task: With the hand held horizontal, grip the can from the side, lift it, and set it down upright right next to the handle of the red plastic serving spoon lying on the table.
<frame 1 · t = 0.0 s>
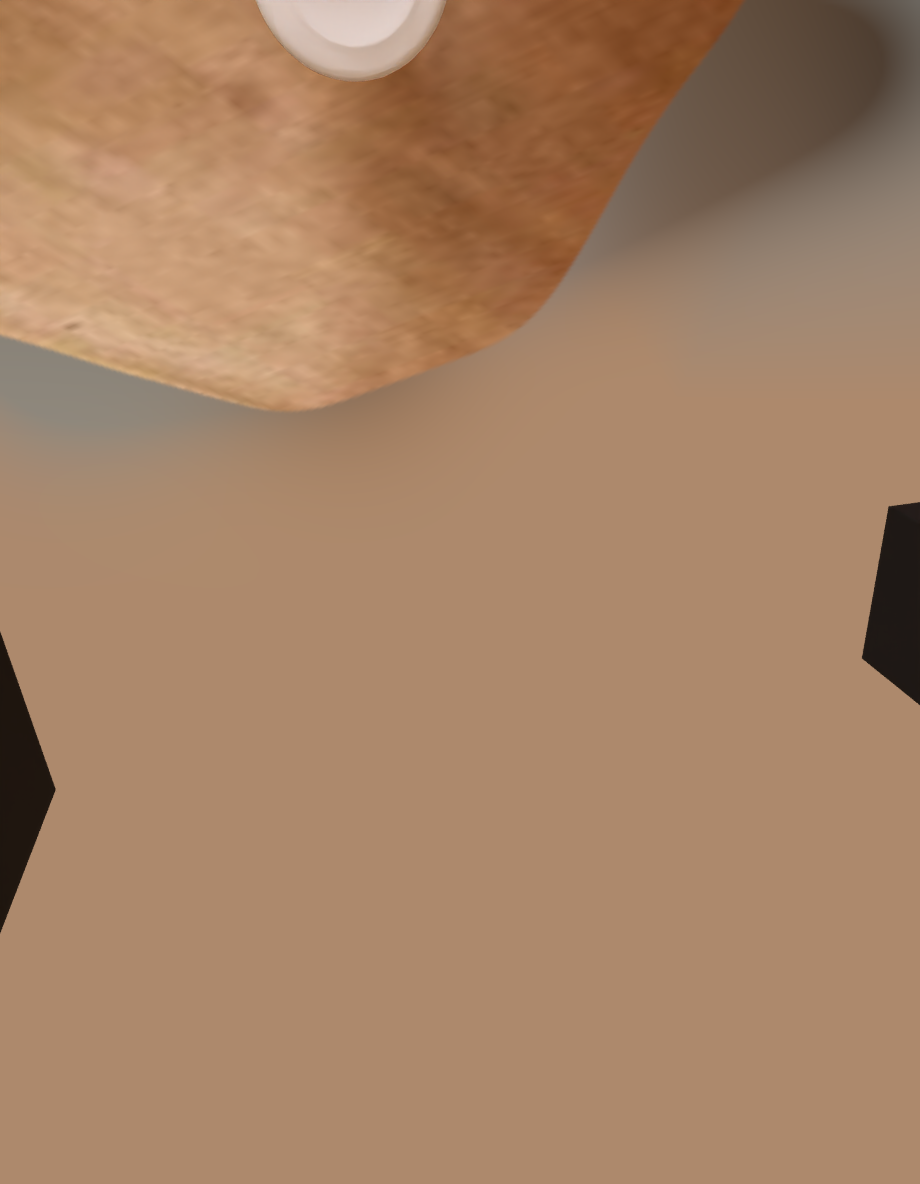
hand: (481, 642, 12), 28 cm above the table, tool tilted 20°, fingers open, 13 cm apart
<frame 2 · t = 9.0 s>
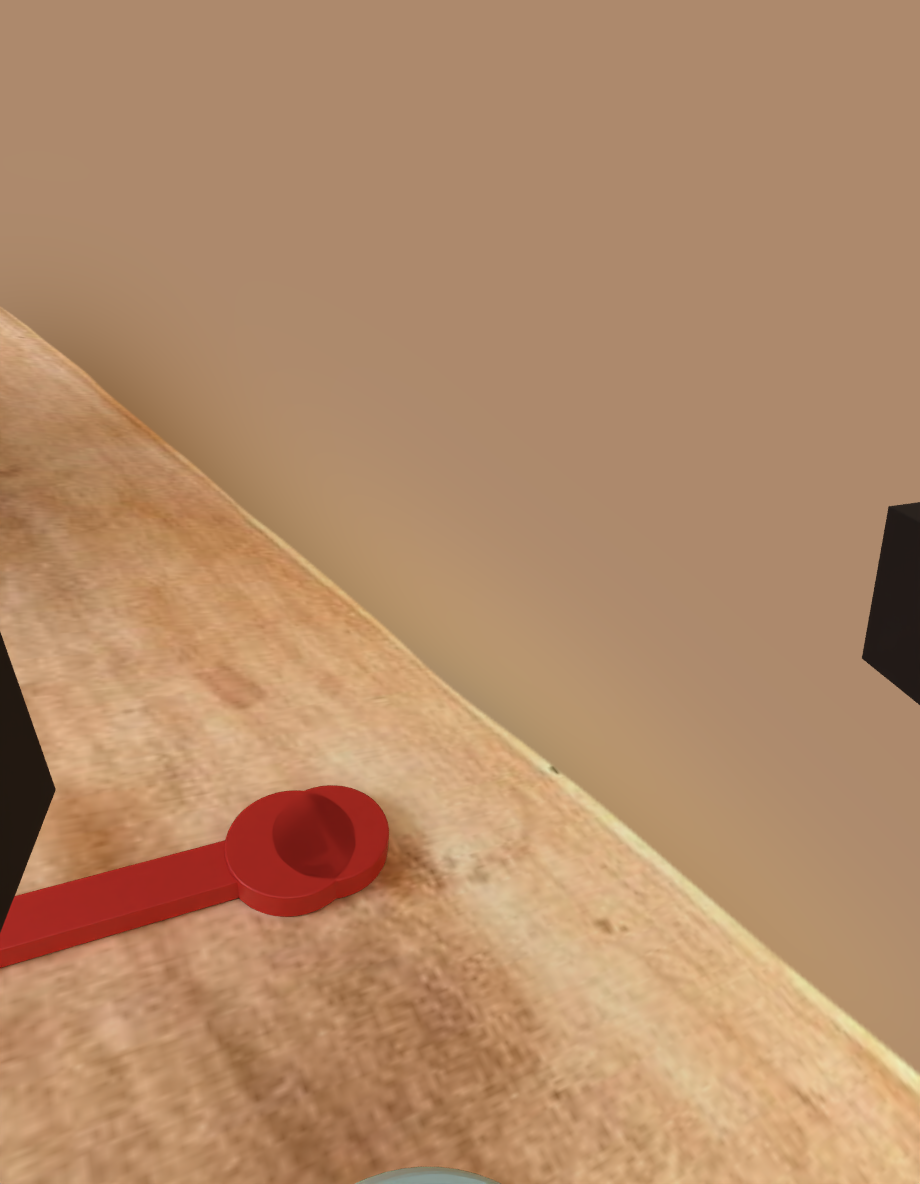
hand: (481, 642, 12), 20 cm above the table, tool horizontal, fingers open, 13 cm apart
spoon: (144, 901, 30), on the table
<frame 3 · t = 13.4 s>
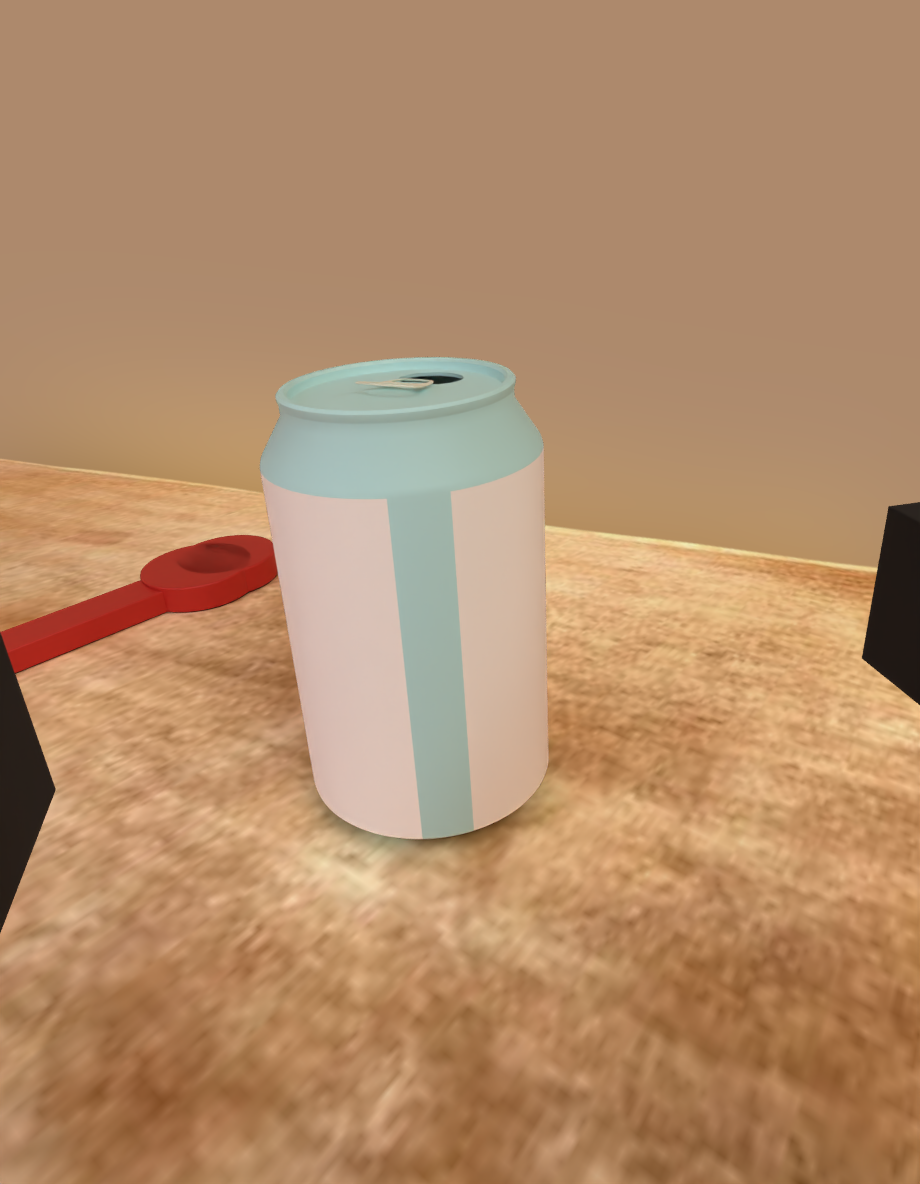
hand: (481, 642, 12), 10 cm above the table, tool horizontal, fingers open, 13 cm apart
spoon: (86, 633, 35), on the table
can: (433, 779, 25), on the table
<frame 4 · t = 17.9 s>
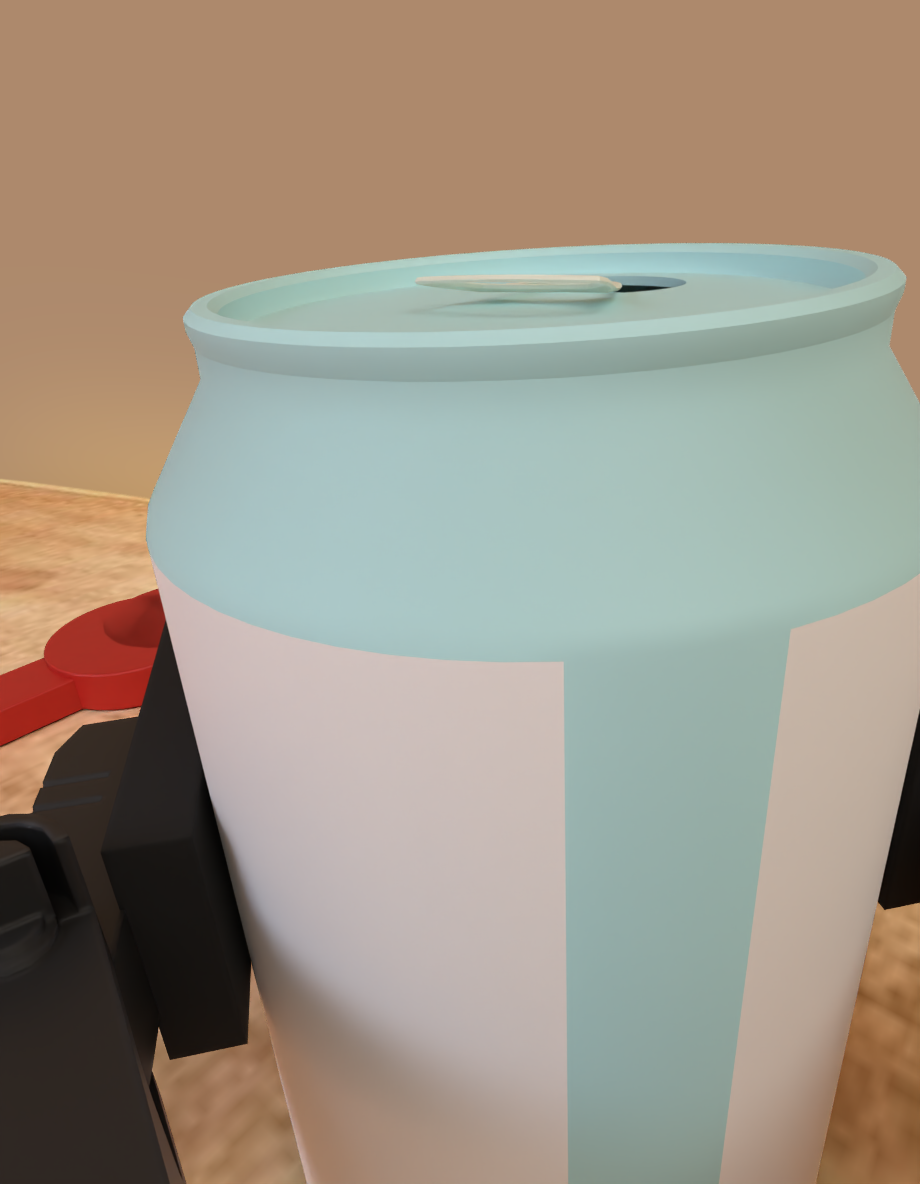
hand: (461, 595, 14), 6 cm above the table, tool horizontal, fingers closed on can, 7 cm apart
can: (550, 1134, 12), on the table, touching gripper
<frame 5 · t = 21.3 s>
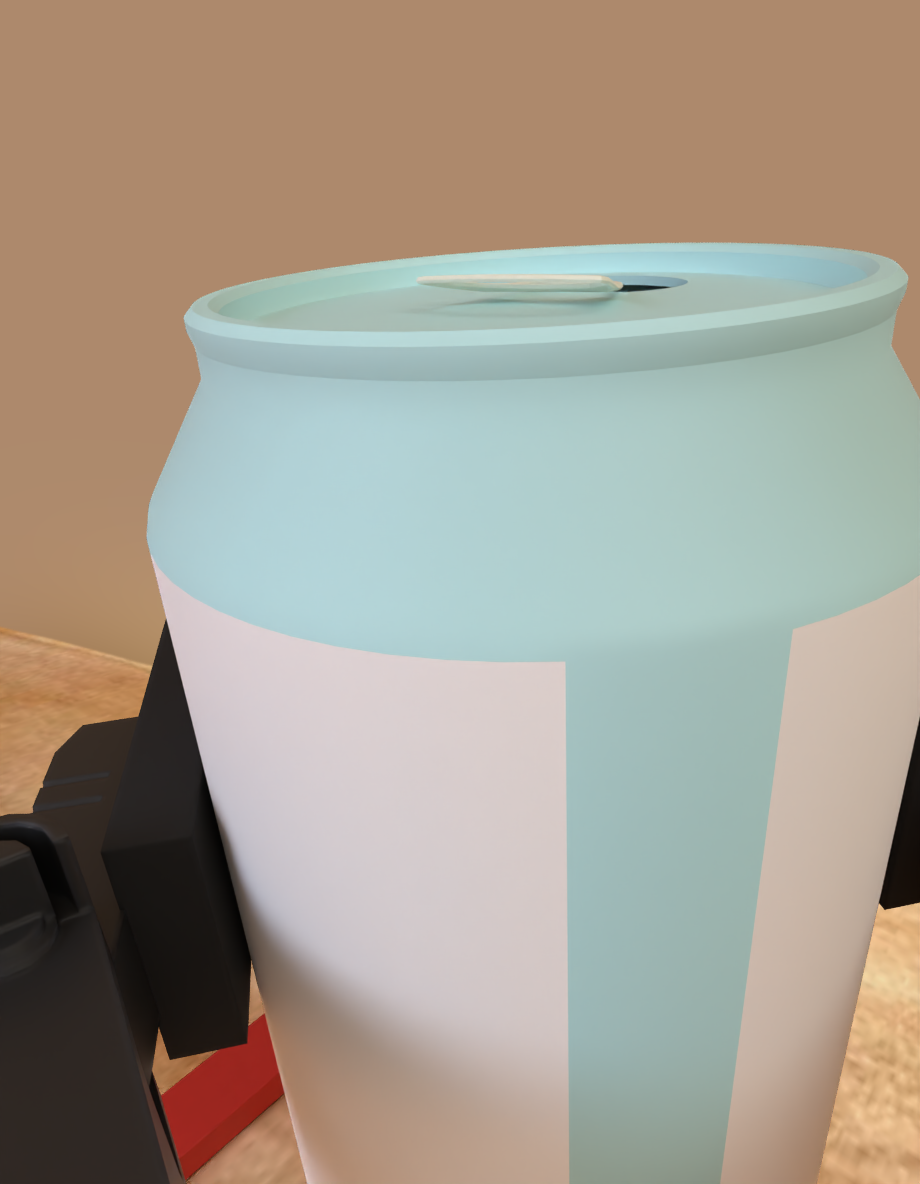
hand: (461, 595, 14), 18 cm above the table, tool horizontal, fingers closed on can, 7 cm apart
spoon: (262, 1075, 25), on the table
can: (550, 1134, 12), point 11 cm above the table, touching gripper
when the fingers open (6 cm above the table, at t = 25.1 s): can stays where it is, on the table.
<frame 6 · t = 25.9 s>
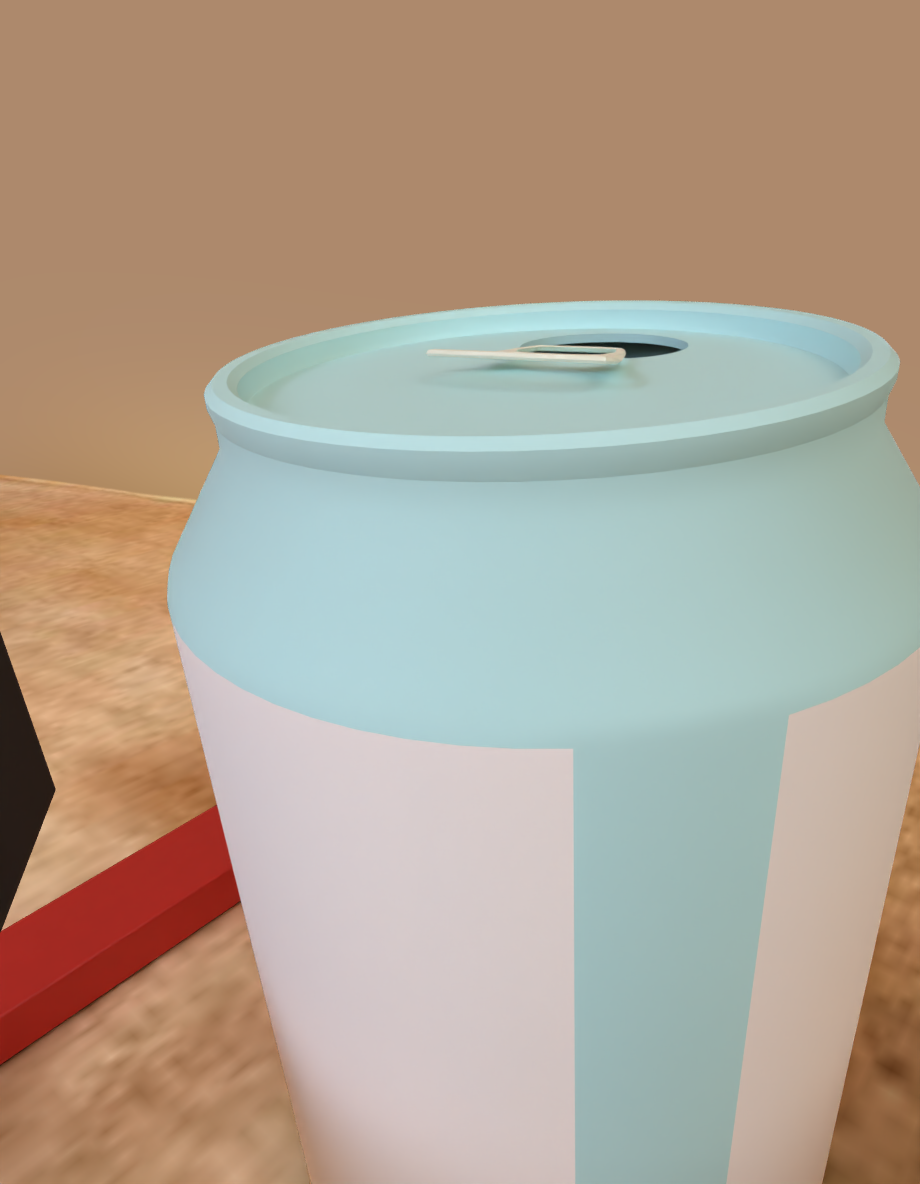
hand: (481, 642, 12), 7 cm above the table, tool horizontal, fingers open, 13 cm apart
spoon: (306, 819, 20), on the table
can: (555, 1159, 13), on the table
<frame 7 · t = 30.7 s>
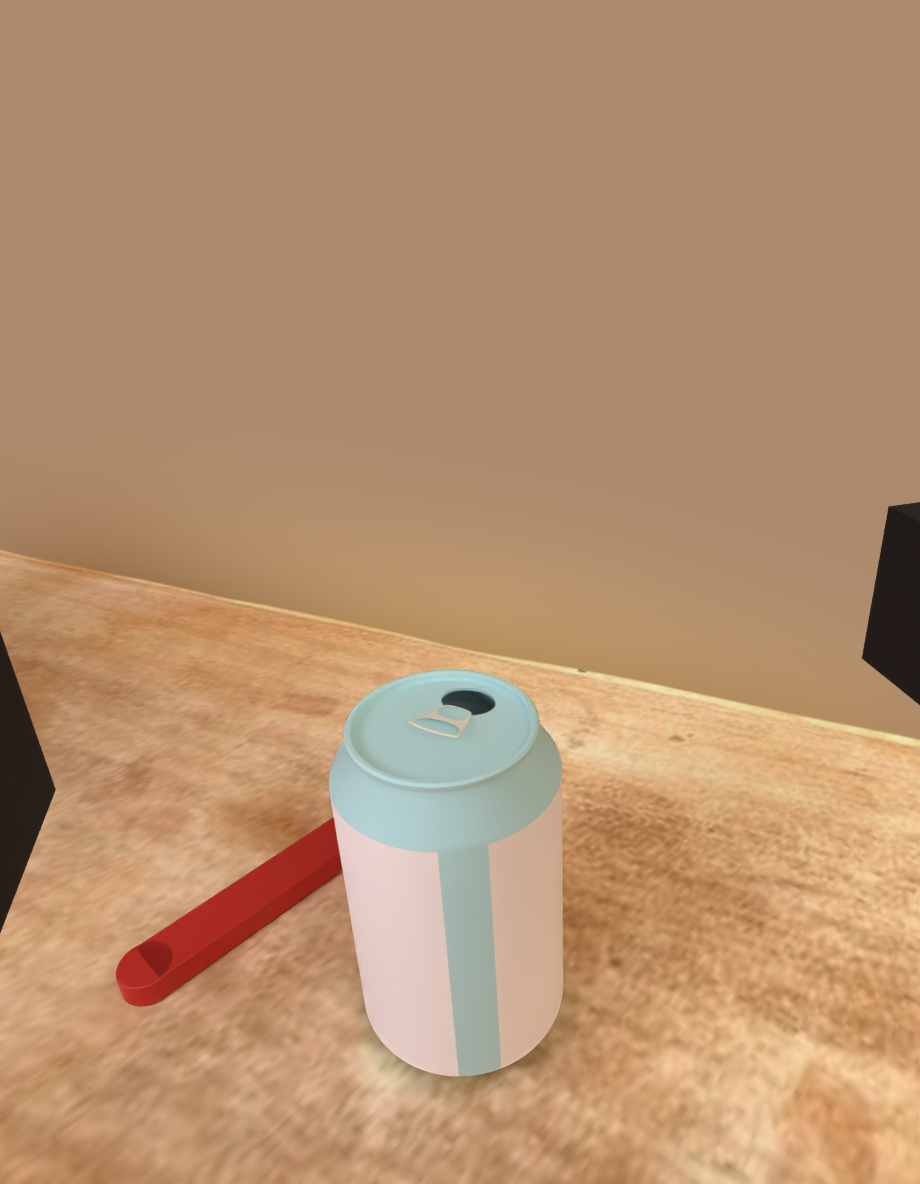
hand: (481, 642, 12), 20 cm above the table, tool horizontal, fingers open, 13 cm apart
spoon: (350, 843, 37), on the table
can: (464, 997, 30), on the table
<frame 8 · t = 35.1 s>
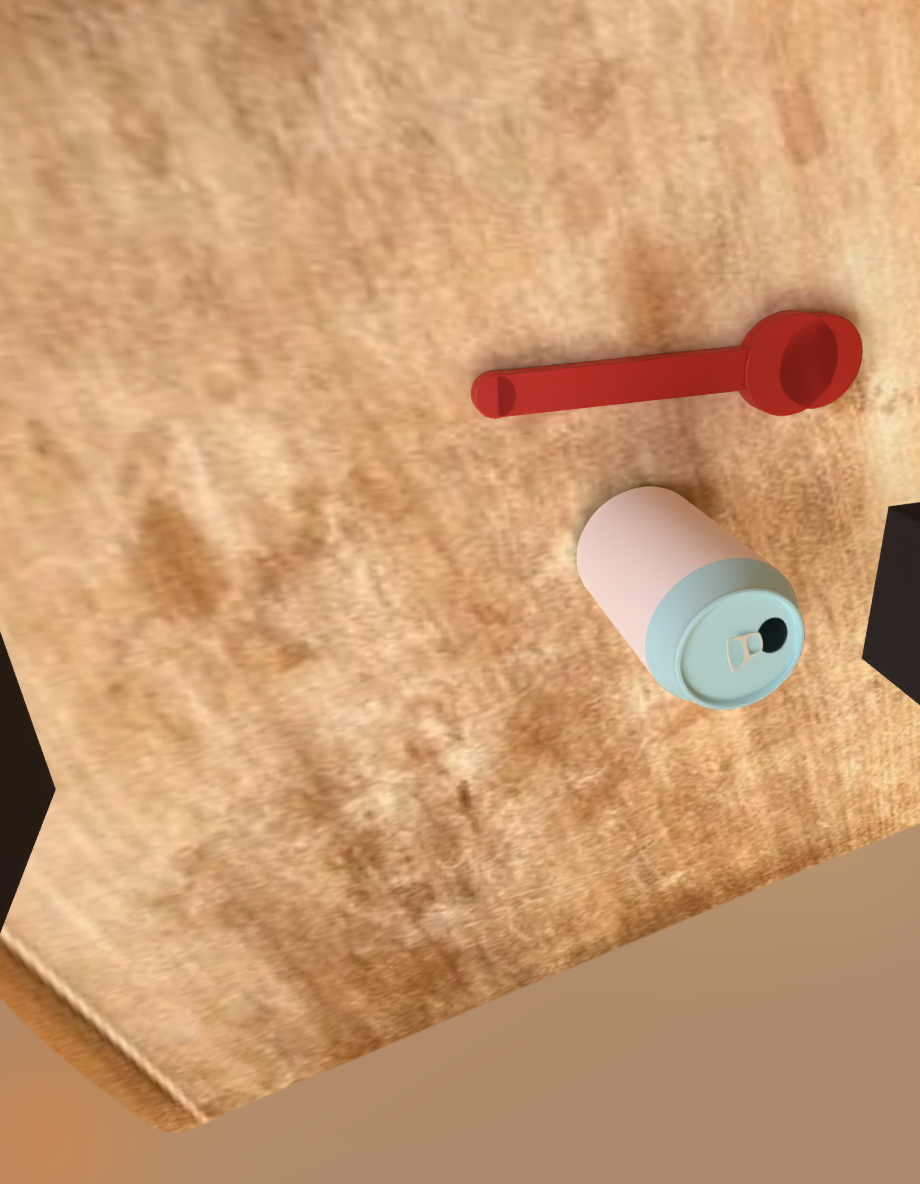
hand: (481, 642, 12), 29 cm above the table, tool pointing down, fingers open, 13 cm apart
spoon: (677, 372, 41), on the table
can: (633, 543, 45), on the table
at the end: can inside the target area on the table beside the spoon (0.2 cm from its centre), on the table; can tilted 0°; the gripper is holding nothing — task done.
